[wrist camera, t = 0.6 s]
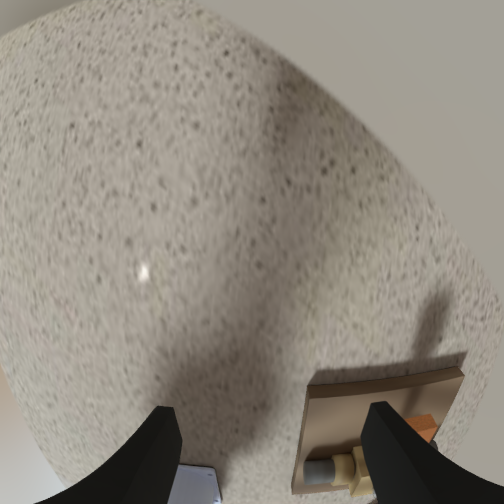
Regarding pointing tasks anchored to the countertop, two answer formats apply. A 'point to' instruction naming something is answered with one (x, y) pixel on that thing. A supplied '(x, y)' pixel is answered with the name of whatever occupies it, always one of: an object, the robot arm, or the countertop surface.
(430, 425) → the valve lever
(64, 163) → the countertop surface
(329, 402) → the valve base
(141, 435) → the robot arm
